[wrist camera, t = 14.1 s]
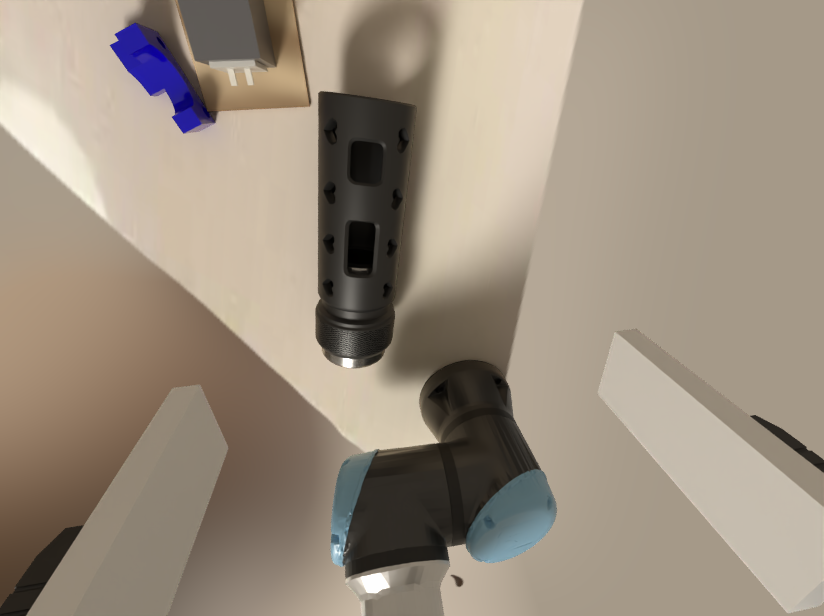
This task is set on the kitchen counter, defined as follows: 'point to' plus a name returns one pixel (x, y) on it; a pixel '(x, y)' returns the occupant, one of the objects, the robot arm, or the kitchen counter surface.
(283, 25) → the mat
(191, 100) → the cable holder
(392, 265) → the muzzle brake
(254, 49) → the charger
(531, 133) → the kitchen counter surface
